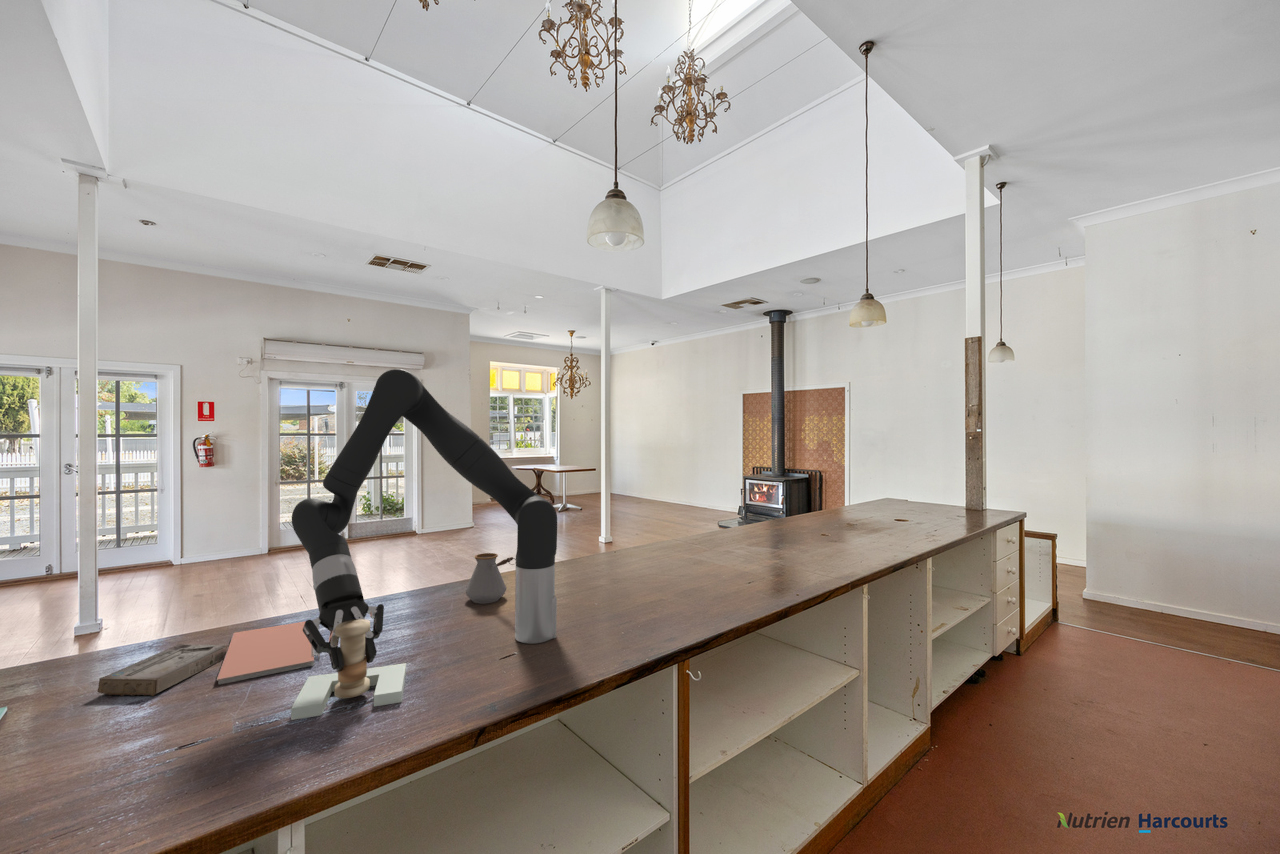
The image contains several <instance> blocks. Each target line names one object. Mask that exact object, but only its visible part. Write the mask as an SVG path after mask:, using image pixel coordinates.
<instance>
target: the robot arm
mask: <svg viewBox="0 0 1280 854" xmlns="http://www.w3.org/2000/svg"><path fill="white" fill-rule="evenodd" d="M402 417H403V418H404V419H406V420H407V421H408V422H409V423H411V424H412V425H413V426H414V427H415V428H417V429H418V430H419V431H420V432H421V434H423V435H424V437H425V438H426V439H427V440H428V442H429V443H430V444H431V445H432V447H433V448H434V449H435V451H436V452H437V453H438V454H439V455H440V456H441V458H442V459H443V460H444V461H445V462H446V463H447V464H448V465H449V466H450V467H451V468H452V469H454V470H455V471H456V473H458V474H459V475H460V476H461V477H462V478H464V480H466V481H467V482H469V483H470V484H472V485H473V486H474V487H476V488H477V489H479V490H480V491H481V492H483V493H485V494H487V496H489V497H491V498H492V499H494V500H495V502H497V503H498V504H499V505H500V506H501V507H502V508H503V509H504V510H505V512H506V513H507V514H508V515H509V516H510V517H511V518H512V520H513V521H514V523H516V525H517V538H516V539H517V540H516V541H517V542H516V543H517V544H516V546H517V547H516V554H515V559H516V560H515V600H514V603H515V604H514V605H515V607H514V608H515V610H514V612H515V613H514V616H515V617H514V618H515V619H514V621H515V623H514V625H515V626H514V634H515V635H514V639H515V640H516V641H517V642H520V643H522V644H541V643H545V642H548V641H550V640H552V639H556V638H557V607H558V606H557V602H558V601H557V597H556V595H555V593H556V591H555V589H556V588H555V586H556V583H555V578H556V577H555V576H556V573H555V572H556V570H555V569H556V568H555V567H556V564H555V563H556V554H557V549H558V515H557V511H556V507H555V506H554V505H553V504H552V503H551V502H550V501H549V500H547V499H545V498H544V497H542V496H541V495H539V494H538V493H537V492H535V491H534V490H532V489H531V488H530V487H528V486H527V485H526V484H524V483H523V482H522V481H521V480H520V479H518V477H517V476H516V475H515V474H514V472H512V470H511V469H510V468H509V466H508V465H507V464H506V462H504V460H503V459H502V458H501V456H500V455H499V454H498V453H497V452H496V451H495V450H494V449H493V448H492V447H491V446H490V445H489V444H488V443H487V442H486V441H485V440H484V439H483V438H482V437H480V435H478V434H477V433H476V432H475V431H474V430H472V429H471V428H470V427H468V425H466V424H465V423H464V422H463V421H461V420H460V419H458V418H457V417H455V416H454V415H453V414H452V413H450V412H448V411H447V410H446V409H445V408H444V407H443V406H442V404H440V403H439V402H438V400H436V399H435V397H434V396H433V395H432V394H431V393H430V392H429V390H428V389H427V388H426V387H425V386H424V385H423V384H422V381H421V380H420V379H419V378H418V377H417V376H416V375H415V374H413V373H412V372H410V371H408V370H405V369H403V368H394V369H393V368H392V369H389V370H386V371H385V372H383V373H382V374H381V375H380V376H379V377H378V378H377V380H376V382H375V385H374V388H373V390H372V393H371V396H370V398H369V401H368V403H367V406H366V408H365V410H364V412H363V414H362V416H361V418H360V420H359V422H358V424H357V426H356V427H355V429H354V431H353V432H352V434H351V436H350V437H349V439H348V440H347V441H346V443H345V444H344V446H343V448H342V450H341V451H339V454H338V455H337V457H336V459H335V460H334V462H333V463H332V465H331V467H330V469H329V470H328V472H327V473H326V475H325V477H324V478H323V481H322V486H323V488H324V489H325V490H326V491H328V492H329V493H332V494H333V500H332V501H331V502H330V501H325V500H322V499H317V498H306V499H303V500H301V501H300V502H298V503H297V504H296V505H295V506H294V508H293V510H292V514H291V525H292V528H293V531H294V534H295V535H296V536H297V538H298V540H299V542H300V543H301V545H302V546H303V548H304V549H305V551H306V553H307V554H308V557H309V561H310V567H311V572H312V576H311V577H312V585H313V586H312V587H313V590H314V592H315V598H316V602H317V606H318V611H319V612H318V613H319V615H318V617H316V618H314V619H307V620H306V622H305V621H304V622H305V624H304V627H303V632H304V634H305V635H306V637H307V639H308V640H309V642H310V643H311V645H312V647H313V648H314V651H315V652H316V653H318V654H322V653H326V654H328V655H329V656H328V657H329V660H330V665H331V668H332V670H333V671H334V670H336V673H338V672H340V671H342V670H343V668H344V663H343V658H342V654H341V650H340V646H339V643H340V637H337V636H336V635H335V627H336V626H337V625H338V624H340V623H343V622H346V621H350V620H357V619H365V618H366V616H367V614H369V615H370V618H371V619H373V622H372V623H373V624H372V625H373V626H372V630H371V629H370V630H369V631H368V632H367V633H365V656H366V658H367V664H370V663H373V662H374V660H375V658H376V656H377V648H376V644H375V640H376V639H377V640H378V639H379V637H380V635H381V634H382V632H383V628H384V614H385V613H384V611H385V605H384V604H381V603H380V604H378V605H377V606H372V605H371V606H370V605H368V603H367V602H366V601H365V599H364V598H365V597H364V594H363V590H362V585H361V583H360V580H359V576H358V572H357V568H356V566H355V563H354V560H353V559H352V555H351V552H350V548H349V544H348V542H347V539H346V538H345V537H344V536H343V535H341V534H340V533H342V532H344V530H345V529H346V527H347V526H348V524H349V523H350V520H351V517H352V513H353V509H354V506H355V502H356V499H357V496H358V492H359V490H360V489H361V488H362V485H363V484H364V482H365V480H366V478H367V477H368V475H369V474H370V473H371V472H370V471H371V470H372V468H373V467H374V464H375V463H376V461H377V458H378V457H379V454H380V452H381V449H382V448H383V446H384V443H385V442H386V439H387V438H388V436H389V435H390V433H391V431H392V429H393V428H394V427H395V425H396V424H397V422H398V421H399V420H400V419H401V418H402ZM320 625H321V626H322V627H323V628H325V629H326V630H328V631H329V638H328V641H326V640H325V639H324V637H323V635H322V633H321V632H320ZM318 654H317V655H318Z"/></svg>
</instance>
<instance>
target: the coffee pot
mask: <svg viewBox="0 0 1280 854" xmlns="http://www.w3.org/2000/svg"><path fill="white" fill-rule="evenodd" d="M498 557H499V555H498V554H497V553H494V552H483V553H478V554H476V555H475V556H474V559H475V560H476V566H475V567H474V571H473V573H472V575H471V577H470V579H469V581H468V584H467V586H466V589H465V594H466V596H467V598H469V600H471V601H472V602H473V603H475V604H481V605H483V604H484V605H485V604H492V603H495V602H498V601H499V600H500V598H501V597H503V596H504V595H505V594H506V591H507V586H506V583H505V581H504V579H503V577H502V573H501V572H500V569H499V567H500V566H504V565H506V564H507V563H508V564H509V565H510V566H511V565H512V566H514V565H515V563H512V564H511V561H513V560H515V561H516V557H515V558H514V557H512V556H511V557H510V556H509V557H507V558H505V559H503V560H501V561H499V562H498V563H497V562H496V561H497V558H498Z"/></svg>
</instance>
